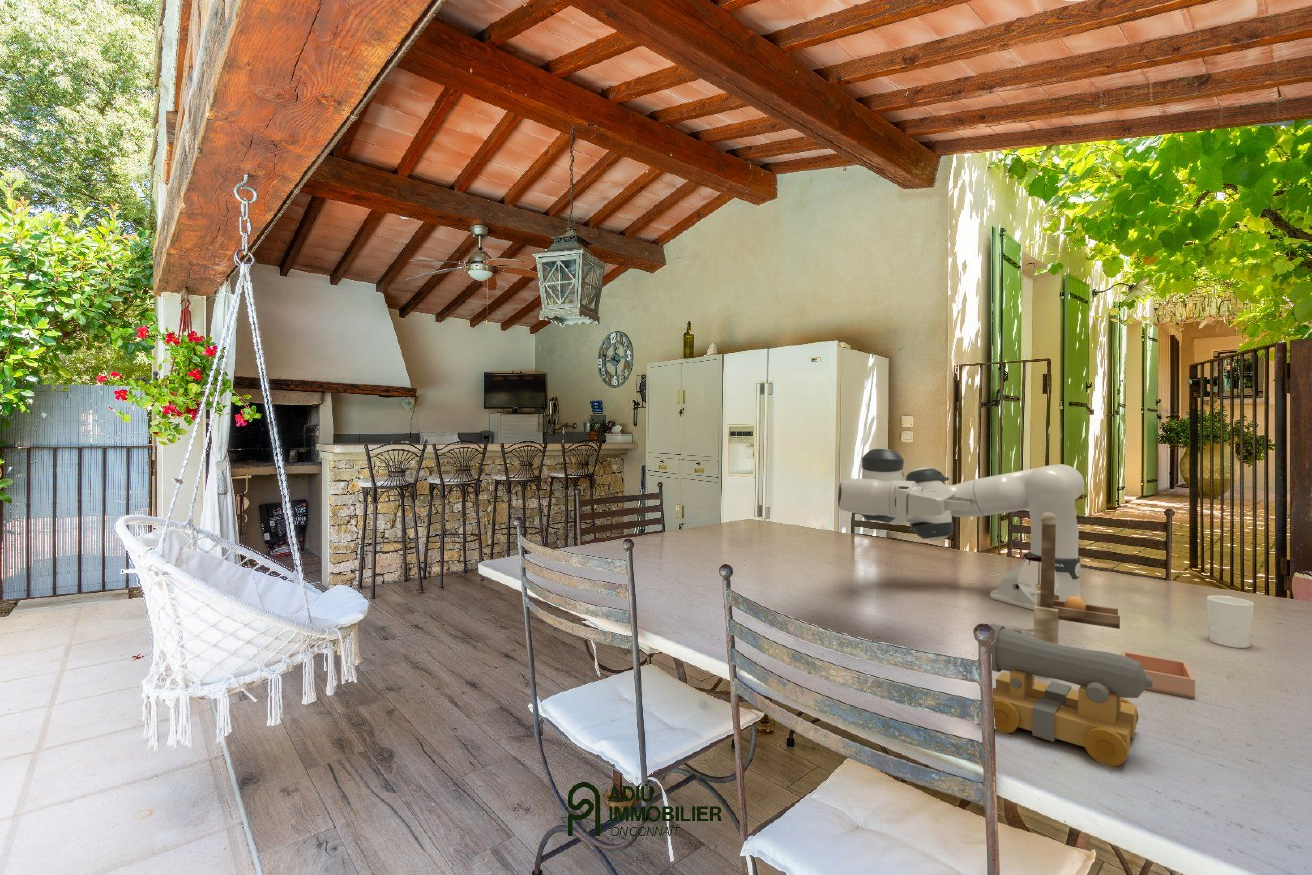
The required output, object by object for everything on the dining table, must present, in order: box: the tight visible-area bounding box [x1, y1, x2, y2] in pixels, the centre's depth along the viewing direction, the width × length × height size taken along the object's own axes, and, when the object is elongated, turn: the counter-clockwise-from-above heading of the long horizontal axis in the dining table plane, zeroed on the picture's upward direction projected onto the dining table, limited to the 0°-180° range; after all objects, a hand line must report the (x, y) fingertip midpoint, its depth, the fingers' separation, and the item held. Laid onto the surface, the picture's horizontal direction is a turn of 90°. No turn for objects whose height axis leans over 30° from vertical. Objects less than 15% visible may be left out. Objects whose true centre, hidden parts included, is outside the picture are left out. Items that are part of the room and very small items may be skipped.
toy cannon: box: [988, 623, 1153, 767], centre depth 100 cm, size 16×22×15 cm
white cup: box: [1206, 595, 1255, 649], centre depth 141 cm, size 8×8×10 cm
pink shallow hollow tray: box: [1120, 650, 1196, 700], centre depth 119 cm, size 10×10×4 cm
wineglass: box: [1018, 557, 1058, 638], centre depth 145 cm, size 8×8×18 cm
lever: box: [1040, 512, 1121, 630], centre depth 125 cm, size 14×12×22 cm
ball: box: [1065, 596, 1086, 611], centre depth 126 cm, size 4×4×4 cm
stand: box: [1033, 591, 1060, 644], centre depth 129 cm, size 9×17×13 cm, turn 146°
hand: (972, 504), depth 136 cm, fingers open, 6 cm apart
